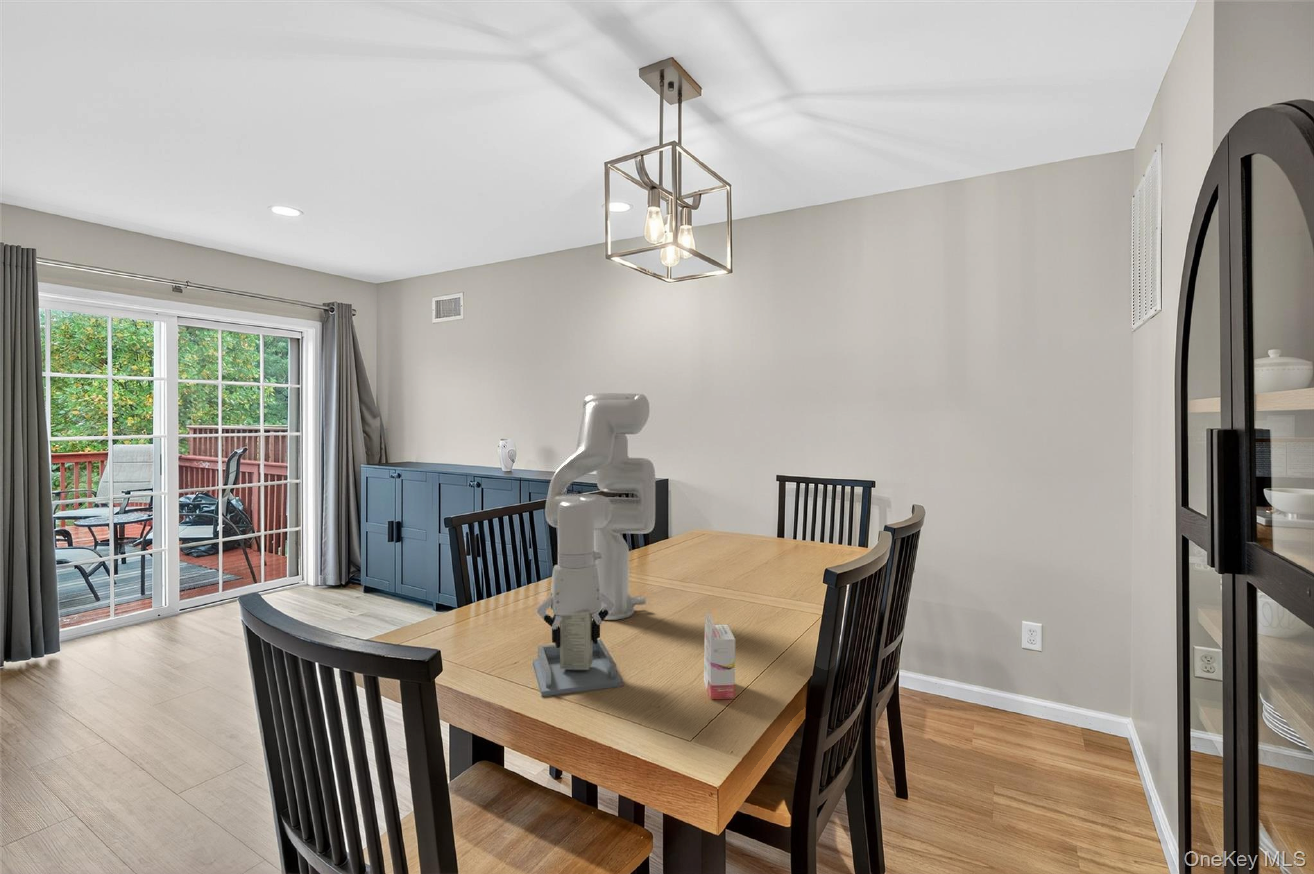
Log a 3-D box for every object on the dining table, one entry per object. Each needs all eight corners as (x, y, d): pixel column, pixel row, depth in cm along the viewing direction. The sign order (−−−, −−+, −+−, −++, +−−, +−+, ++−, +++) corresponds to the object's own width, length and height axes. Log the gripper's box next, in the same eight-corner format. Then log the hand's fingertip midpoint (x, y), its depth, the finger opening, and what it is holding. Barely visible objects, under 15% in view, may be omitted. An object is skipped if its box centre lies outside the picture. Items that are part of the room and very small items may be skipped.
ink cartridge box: (735, 699, 117) (736, 624, 117) (710, 700, 117) (711, 624, 116) (727, 680, 126) (728, 609, 125) (703, 680, 125) (704, 609, 125)
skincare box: (592, 662, 130) (593, 605, 129) (588, 671, 125) (588, 612, 125) (563, 660, 130) (563, 604, 130) (558, 669, 126) (558, 611, 125)
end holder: (604, 655, 138) (604, 638, 138) (622, 686, 122) (622, 666, 122) (532, 663, 133) (532, 645, 133) (541, 696, 118) (541, 676, 117)
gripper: (612, 552, 133) (612, 632, 134) (531, 558, 128) (531, 641, 129) (621, 561, 126) (620, 645, 127) (535, 567, 121) (535, 655, 121)
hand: (576, 642), depth 128 cm, fingers closed on skincare box, 7 cm apart
